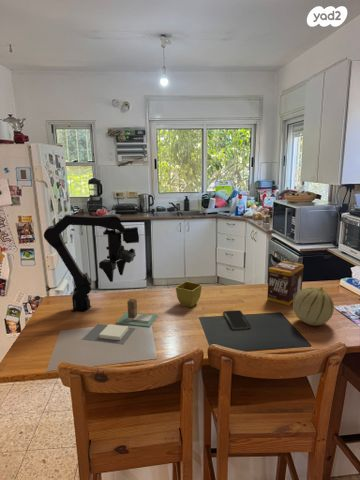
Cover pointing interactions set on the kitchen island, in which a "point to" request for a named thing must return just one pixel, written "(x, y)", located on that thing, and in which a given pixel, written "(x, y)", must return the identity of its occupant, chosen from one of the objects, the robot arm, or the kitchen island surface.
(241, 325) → the phone
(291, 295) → the supplement box
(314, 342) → the kitchen island surface
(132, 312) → the upright brown pillar
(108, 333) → the tile
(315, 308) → the cantaloupe
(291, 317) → the kitchen island surface
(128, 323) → the board
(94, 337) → the mat
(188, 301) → the flower pot
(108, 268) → the robot arm
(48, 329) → the kitchen island surface
